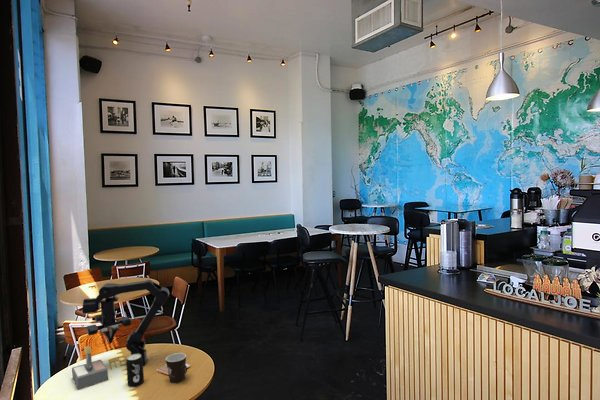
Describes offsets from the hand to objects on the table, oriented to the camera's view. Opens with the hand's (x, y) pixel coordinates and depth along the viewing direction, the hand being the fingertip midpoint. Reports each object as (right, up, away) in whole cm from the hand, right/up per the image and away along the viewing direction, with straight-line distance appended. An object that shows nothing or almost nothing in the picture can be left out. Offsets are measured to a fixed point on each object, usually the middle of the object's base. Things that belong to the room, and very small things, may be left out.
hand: (110, 343), depth 192 cm
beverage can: (+18, -13, -15) cm, 26 cm away
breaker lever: (-5, -7, -10) cm, 13 cm away
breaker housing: (-5, -13, -9) cm, 16 cm away
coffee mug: (+36, -12, -14) cm, 40 cm away
